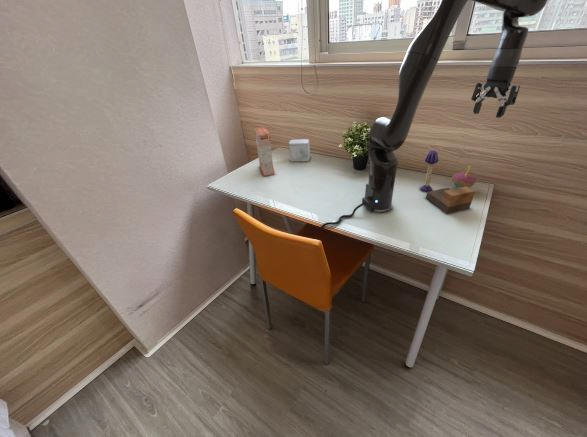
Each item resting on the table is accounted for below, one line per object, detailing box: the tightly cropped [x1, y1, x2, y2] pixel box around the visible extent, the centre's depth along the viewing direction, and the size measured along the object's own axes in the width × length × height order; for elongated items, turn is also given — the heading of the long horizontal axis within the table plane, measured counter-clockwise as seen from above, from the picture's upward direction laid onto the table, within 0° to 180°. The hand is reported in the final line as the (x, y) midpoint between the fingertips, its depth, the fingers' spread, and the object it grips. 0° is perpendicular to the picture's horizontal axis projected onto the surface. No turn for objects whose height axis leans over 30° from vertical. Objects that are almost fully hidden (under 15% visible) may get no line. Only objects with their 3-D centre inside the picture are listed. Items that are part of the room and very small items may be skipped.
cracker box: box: [253, 126, 275, 177], centre depth 137 cm, size 14×6×21 cm, turn 13°
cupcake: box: [451, 164, 477, 189], centre depth 108 cm, size 9×8×12 cm
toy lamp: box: [420, 150, 439, 193], centre depth 109 cm, size 5×5×17 cm
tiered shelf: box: [425, 186, 476, 215], centre depth 102 cm, size 10×12×8 cm
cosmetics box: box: [288, 138, 311, 162], centre depth 148 cm, size 10×6×10 cm, turn 80°
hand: (486, 115), depth 100 cm, fingers open, 8 cm apart
